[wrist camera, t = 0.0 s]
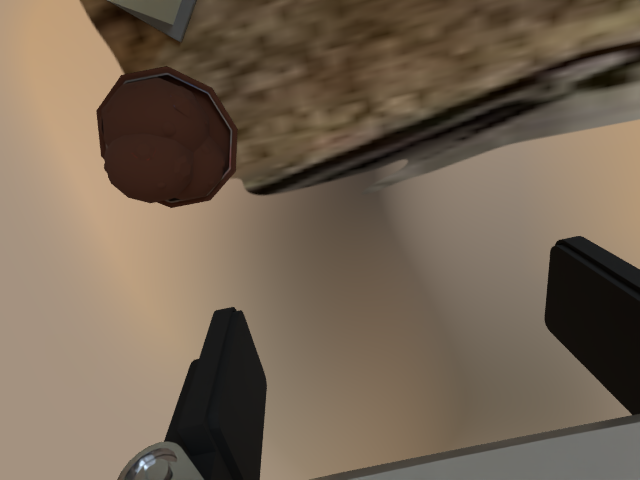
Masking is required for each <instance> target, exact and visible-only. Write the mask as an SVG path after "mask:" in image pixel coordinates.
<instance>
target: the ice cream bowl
mask: <svg viewBox="0 0 640 480" xmlns="http://www.w3.org/2000/svg"><path fill="white" fill-rule="evenodd" d="M97 120H98V130H99V139H100V148H101V156H102V157H103V159H104V160H105V164H104V169H105V171H106V172H107V173H108V178H109V180H110V181H111V184H113V185H114V186H115V187H116V188H118V189H119V190H120V191H121V192H122V193H124V194H125V195H126V196H127V197H128V198H132V199H137V200H140V201H144V202H148V203H153V202H158V203H160V204H163V205H165V206H168V207H170V208H173V207H178V206H183V205H189V204H194V203H199V202H204V201H209V200H211V199H212V198H213V197H214V195H215V194H216V193H217V192H218V191H219V190H220V189H221V187H222V186H223V185H224V184H225V183H226V182H227V181H228V180H229V178H230V177H231V176H232V175H233V174H234V173H235V172H236V151H237V127H236V126H235V124H234V123H233V121H232V119H231V118H230V116H229V114H228V113H227V111H226V110H225V108H224V106H223V105H222V103H221V101H220V100H219V98H218V97H217V95H216V93H215V92H214V90H213V89H212V88H211V87H209V86H207V85H205V84H203V83H200V82H198V81H196V80H194V79H192V78H190V77H188V76H186V75H184V74H182V73H180V72H178V71H176V70H174V69H172V68H170V67H168V66H165V67H160V68H155V69H150V70H145V71H140V72H135V73H130V74H125V75H121V76H120V78H119V79H118V81H117V82H116V84H115V85H114V86H113V88H112V89H111V91H110V92H109V94H108V95H107V96H106V98H105V100H104V101H103V102H102V104H101V105H100V106H99V108H98V109H97Z"/></svg>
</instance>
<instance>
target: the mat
mask: <svg viewBox="0 0 640 480" xmlns="http://www.w3.org/2000/svg"><path fill="white" fill-rule="evenodd" d="M107 1H108V0H107ZM196 1H197V0H182V1H181V3H180V6H179V9H178V12H177V15H176V18H175V21H174V24H173V25H172V24H169V23H166V22H164V21H161V20H158V19H156V18H153V17H150V16H148V15H145V14H142V13H140V12H137V11H134V10H132V9H129V8H126V7H124V6H121V5H118V4H116V3H113V2H111V3H113V4H114V5H116V6H118V7H120V8H121V9H123V10H125V11H127V12H128V13H130V14H132V15H134V16H135V17H137V18H139V19H141V20H142V21H144V22H146V23H148V24H149V25H151V26H153V27H155V28H156V29H158V30H160V31H162V32H163V33H165V34H167V35H169V36H170V37H172V38H174V39H176V40H177V41H179V42H182V40H183V37H184V34H185V31H186V29H187V26H188V23H189V20H190V17H191V15H192V12H193V9H194V6H195V4H196ZM109 2H110V1H109Z"/></svg>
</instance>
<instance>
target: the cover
mask: <svg viewBox="0 0 640 480" xmlns="http://www.w3.org/2000/svg"><path fill="white" fill-rule="evenodd" d="M108 1H110V2H113V3H116V4H118V5H121V6H124V7H126V8H129V9H132V10H134V11H137V12H140V13H142V14H145V15H148V16H150V17H153V18H156V19H158V20H161V21H164V22H166V23H169V24H172V25H173V24H174V21H175V18H176V15H177V12H178V9H179V6H180V3H181V1H182V0H108Z"/></svg>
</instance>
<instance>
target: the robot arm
mask: <svg viewBox="0 0 640 480" xmlns="http://www.w3.org/2000/svg"><path fill="white" fill-rule="evenodd" d="M545 323H546V326H547V328H548V329H549V331H550V332H551V333H552V334H553V335H554V336H555V337H556V338H557V339H558V340H559V341H560V342H561V343H562V344H563V345H564V346H565V347H566V348H567V349H568V350H569V351H570V352H571V353H572V354H573V355H574V356H575V357H576V358H577V359H578V360H579V361H580V362H581V363H582V364H583V365H584V366H585V367H586V368H587V369H588V370H589V371H590V372H591V373H592V374H593V375H594V376H595V377H596V378H597V379H598V380H599V381H600V382H601V383H602V384H603V386H604V387H605V388H606V389H607V390H608V391H609V392H611V394H612V395H613V396H614V397H615V398H616V399H617V400H618V401H619V402H620V403H621V404H622V405H623V406H624V407H625V408H626V409H627V410H629V412H630V413H631V414H632V416H626V417H621V418H616V419H611V420H605V421H601V422H595V423H590V424H584V425H579V426H574V427H569V428H563V429H558V430H553V431H549V432H543V433H538V434H533V435H527V436H522V437H517V438H512V439H507V440H502V441H497V442H492V443H487V444H481V445H476V446H471V447H466V448H461V449H456V450H451V451H446V452H441V453H436V454H431V455H426V456H421V457H416V458H411V459H406V460H401V461H396V462H392V463H387V464H382V465H377V466H372V467H367V468H362V469H357V470H352V471H347V472H342V473H338V474H333V475H329V476H324V477H319V478H315V479H310V480H640V269H638V268H636V267H634V266H632V265H631V264H629V263H627V262H625V261H624V260H622V259H620V258H619V257H617V256H615V255H614V254H612V253H610V252H608V251H607V250H605V249H603V248H601V247H599V246H598V245H596V244H594V243H592V242H591V241H589V240H587V239H586V238H584V237H581V236H576V237H572V238H567V239H562V240H559V241H557V242H556V244H555V246H554V247H552V248H551V251H550V262H549V273H548V285H547V297H546V308H545ZM266 389H267V384H266V377H265V374H264V371H263V368H262V365H261V362H260V359H259V356H258V354H257V351H256V348H255V345H254V343H253V339H252V336H251V334H250V331H249V328H248V325H247V322H246V319H245V317H244V314H243V312H242V311H241V310H240V311H236V309H235V308H234V307H231V308H226V309H221V310H216V311H215V312H214V314H213V317H212V320H211V323H210V326H209V330H208V333H207V336H206V339H205V342H204V345H203V348H202V351H201V355H200V358H199V359H196V360H194V361H193V362H192V363H191V365H190V367H189V370H188V373H187V376H186V379H185V382H184V385H183V388H182V391H181V393H180V396H179V400H178V402H177V405H176V408H175V411H174V414H173V417H172V420H171V423H170V426H169V429H168V432H167V435H166V437H165V440H164V442H159V443H156V444H154V445H151V446H149V447H147V448H145V449H144V450H143V451H141V452H139V453H138V454H137V455H136V456H135V457H134V458H133V459H132V460H130V461H129V462H128V464H127V465H126V466H125V468H124V469H123V470H122V471H121V473H120V475H119V477H118V479H117V480H260V467H261V454H262V440H263V428H264V416H265V403H266Z"/></svg>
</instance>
